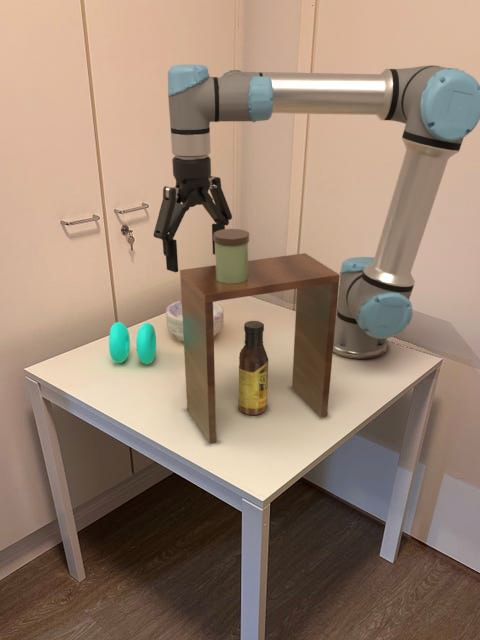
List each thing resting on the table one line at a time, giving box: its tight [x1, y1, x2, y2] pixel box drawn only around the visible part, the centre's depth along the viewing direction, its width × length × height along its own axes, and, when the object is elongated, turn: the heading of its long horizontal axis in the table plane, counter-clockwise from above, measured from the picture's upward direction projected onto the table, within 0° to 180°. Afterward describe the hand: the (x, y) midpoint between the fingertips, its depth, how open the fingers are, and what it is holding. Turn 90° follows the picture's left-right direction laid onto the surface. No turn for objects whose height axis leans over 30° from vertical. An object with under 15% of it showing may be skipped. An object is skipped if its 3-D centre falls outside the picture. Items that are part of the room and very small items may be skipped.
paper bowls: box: [165, 299, 225, 343], centre depth 168 cm, size 15×15×8 cm
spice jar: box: [214, 228, 250, 284], centre depth 115 cm, size 6×6×8 cm
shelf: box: [179, 252, 340, 444], centre depth 129 cm, size 27×14×32 cm, turn 113°
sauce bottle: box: [238, 320, 269, 416], centre depth 133 cm, size 6×6×20 cm
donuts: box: [108, 321, 157, 365], centre depth 155 cm, size 10×10×10 cm
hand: (196, 262), depth 135 cm, fingers open, 13 cm apart
